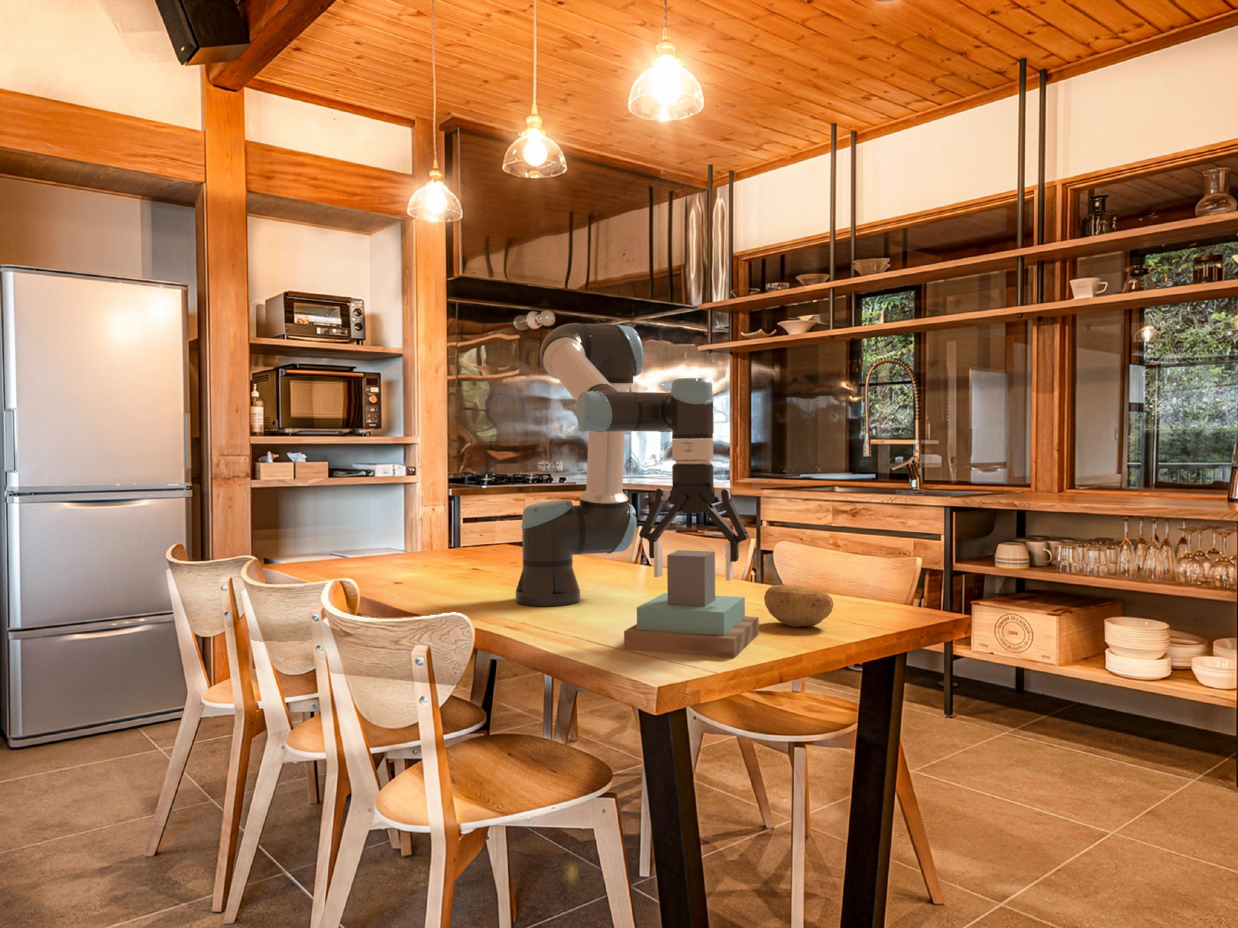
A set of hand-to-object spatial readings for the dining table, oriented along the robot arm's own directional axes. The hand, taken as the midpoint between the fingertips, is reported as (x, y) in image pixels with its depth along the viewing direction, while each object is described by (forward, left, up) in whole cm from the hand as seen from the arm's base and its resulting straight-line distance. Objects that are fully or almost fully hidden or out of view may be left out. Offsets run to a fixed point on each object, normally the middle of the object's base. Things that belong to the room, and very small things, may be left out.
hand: (693, 578), depth 161 cm
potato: (-20, +16, -12) cm, 28 cm away
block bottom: (0, 0, -12) cm, 12 cm away
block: (0, 0, -4) cm, 4 cm away
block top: (0, 0, -8) cm, 9 cm away
